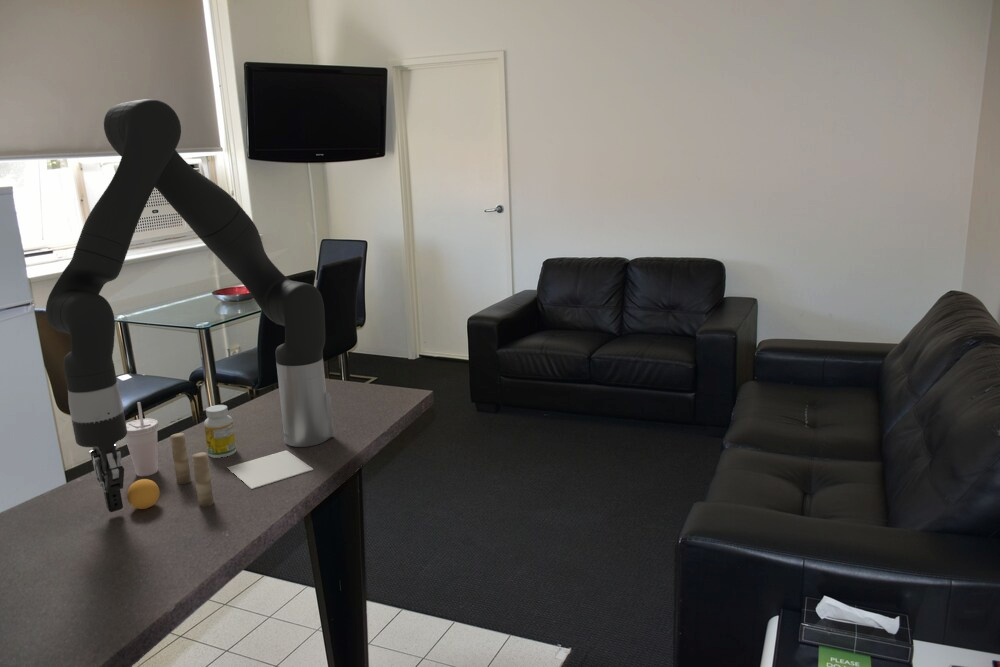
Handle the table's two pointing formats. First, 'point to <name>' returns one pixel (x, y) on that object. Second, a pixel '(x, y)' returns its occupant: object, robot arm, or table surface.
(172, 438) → the post
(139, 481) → the ball
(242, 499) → the table surface
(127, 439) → the smoothie
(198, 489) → the post
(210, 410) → the supplement bottle
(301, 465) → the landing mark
